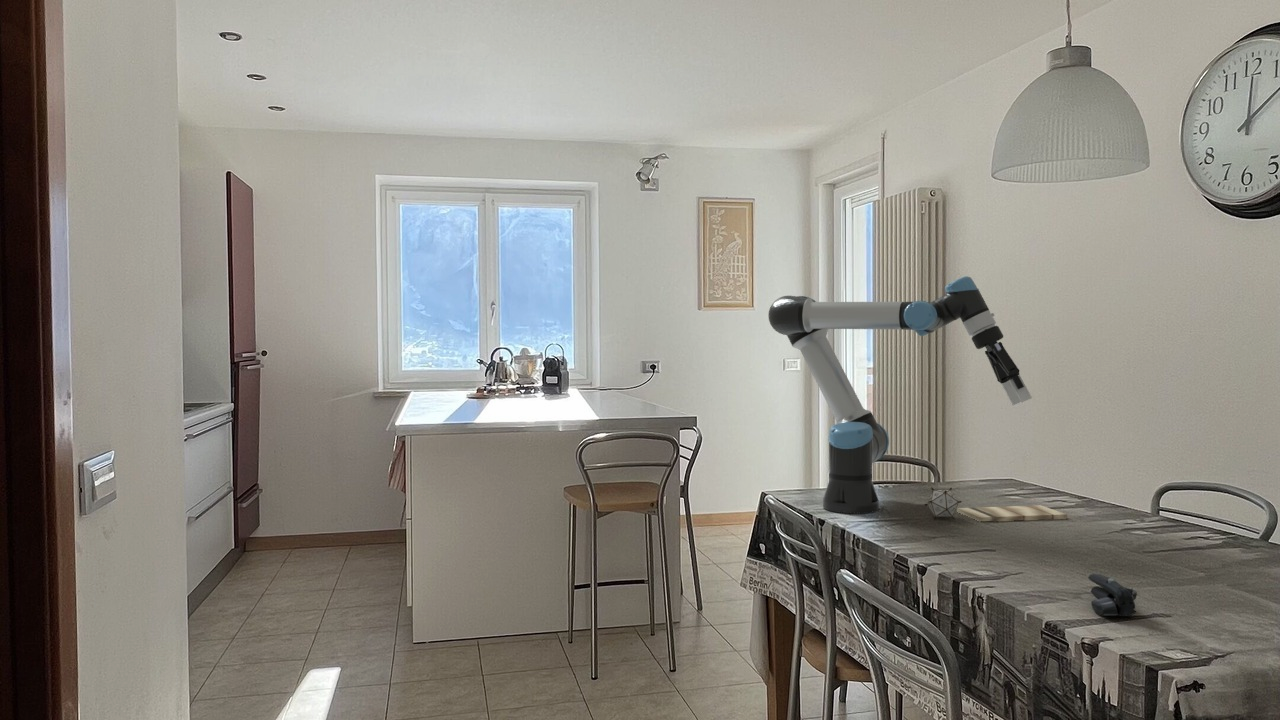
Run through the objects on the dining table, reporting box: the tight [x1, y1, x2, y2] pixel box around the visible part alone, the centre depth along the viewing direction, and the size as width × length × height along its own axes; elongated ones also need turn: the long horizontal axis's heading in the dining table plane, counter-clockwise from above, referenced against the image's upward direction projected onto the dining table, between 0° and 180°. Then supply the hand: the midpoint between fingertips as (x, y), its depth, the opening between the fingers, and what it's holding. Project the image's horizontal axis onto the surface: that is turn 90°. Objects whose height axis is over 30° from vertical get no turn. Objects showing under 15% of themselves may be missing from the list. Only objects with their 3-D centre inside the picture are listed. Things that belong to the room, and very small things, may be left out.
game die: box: [923, 486, 963, 520], centre depth 227 cm, size 9×8×10 cm
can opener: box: [1087, 573, 1138, 617], centre depth 154 cm, size 18×7×6 cm, turn 165°
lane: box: [956, 504, 1068, 522], centre depth 230 cm, size 24×12×1 cm, turn 97°
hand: (1022, 401), depth 230 cm, fingers open, 13 cm apart
